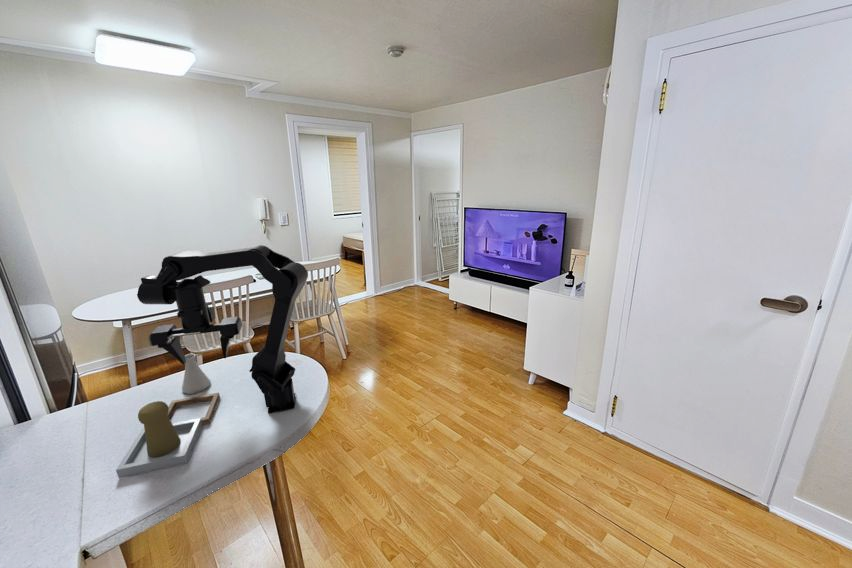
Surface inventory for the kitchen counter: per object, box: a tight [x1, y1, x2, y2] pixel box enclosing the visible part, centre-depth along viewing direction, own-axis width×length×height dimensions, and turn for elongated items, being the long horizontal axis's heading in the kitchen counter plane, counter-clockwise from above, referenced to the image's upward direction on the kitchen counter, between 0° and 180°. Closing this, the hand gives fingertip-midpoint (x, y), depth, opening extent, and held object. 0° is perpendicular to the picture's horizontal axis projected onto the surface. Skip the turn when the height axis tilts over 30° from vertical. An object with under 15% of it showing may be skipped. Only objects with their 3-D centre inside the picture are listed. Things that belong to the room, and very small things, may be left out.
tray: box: [115, 417, 204, 479], centre depth 77 cm, size 12×12×2 cm
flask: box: [181, 352, 212, 395], centre depth 97 cm, size 7×7×10 cm
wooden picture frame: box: [168, 392, 221, 426], centre depth 88 cm, size 11×11×2 cm
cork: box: [137, 400, 181, 458], centre depth 75 cm, size 6×6×11 cm
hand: (205, 360), depth 88 cm, fingers open, 9 cm apart
